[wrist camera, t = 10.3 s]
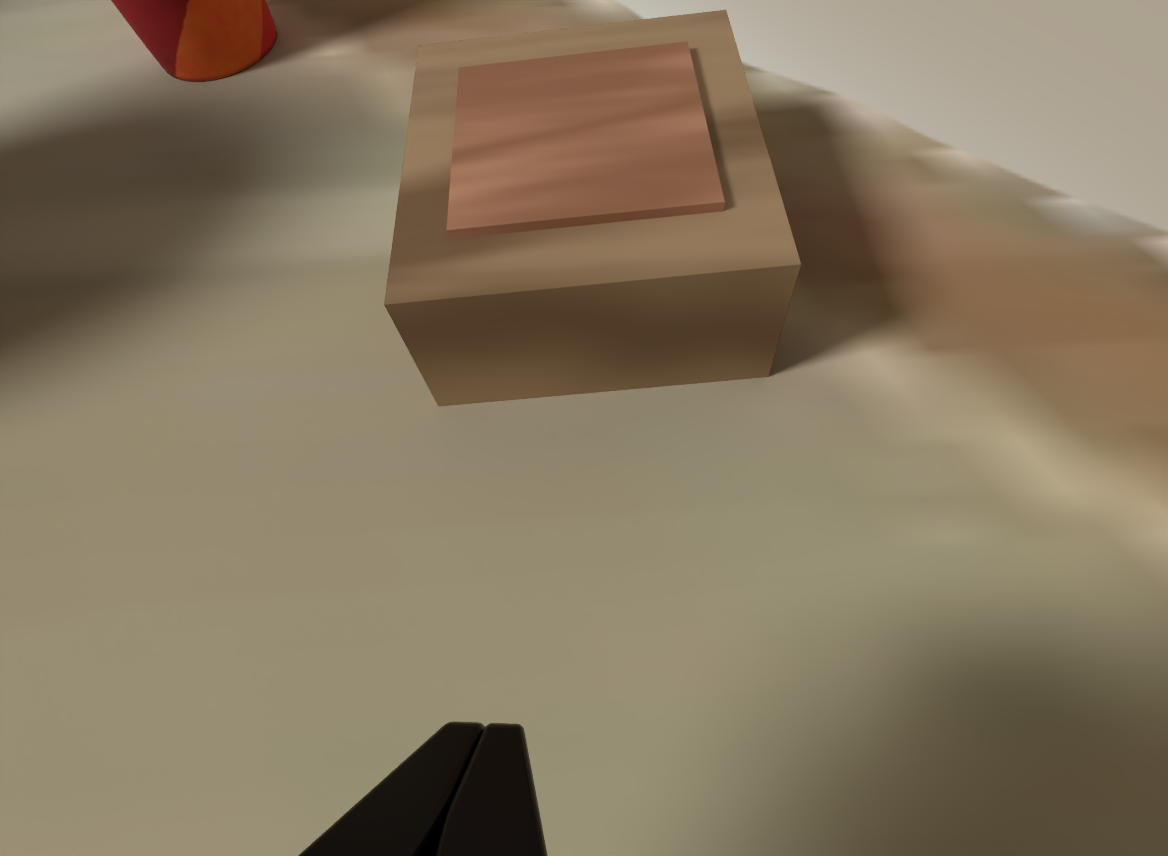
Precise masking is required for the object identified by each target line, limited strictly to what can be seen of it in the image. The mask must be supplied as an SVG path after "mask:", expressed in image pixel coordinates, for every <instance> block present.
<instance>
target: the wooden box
mask: <svg viewBox="0 0 1168 856" xmlns="http://www.w3.org/2000/svg"><path fill="white" fill-rule="evenodd" d="M800 267H801V262H800V258H799V255H798V252H797V248H796V245H795V242H794V238H793V235H792V231H791V228H790V225H789V221H788V218H787V214H786V211H785V208H784V204H783V201H782V198H781V194H780V191H779V187H778V184H777V181H776V177H775V174H774V171H773V167H772V164H771V160H770V157H769V154H768V150H767V147H766V143H765V140H764V137H763V133H762V130H761V127H760V123H759V120H758V116H757V113H756V110H755V106H754V103H753V99H752V96H751V93H750V89H749V86H748V83H747V79H746V76H745V72H744V69H743V66H742V62H741V59H740V56H739V52H738V49H737V45H736V42H735V39H734V35H733V32H732V28H731V25H730V22H729V18H728V15H727V12H726V10H720V11H712V12H703V13H695V14H686V15H678V16H669V17H660V18H652V19H643V20H634V21H625V22H617V23H608V24H600V25H591V26H582V27H574V28H565V29H556V30H548V31H539V32H531V33H522V34H513V35H505V36H496V37H487V38H479V39H470V40H461V41H453V42H444V43H436V44H427V45H419V46H418V54H417V62H416V69H415V77H414V84H413V92H412V99H411V107H410V114H409V122H408V129H407V137H406V145H405V152H404V160H403V167H402V175H401V182H400V190H399V197H398V205H397V212H396V220H395V227H394V235H393V243H392V250H391V258H390V265H389V273H388V280H387V288H386V295H385V303H384V305H385V307H386V309H387V311H388V313H389V315H390V316H391V318H392V320H393V322H394V324H395V326H396V328H397V329H398V331H399V333H400V335H401V337H402V339H403V341H404V343H405V344H406V346H407V348H408V350H409V352H410V354H411V356H412V358H413V359H414V361H415V363H416V365H417V367H418V369H419V371H420V373H421V374H422V376H423V378H424V380H425V382H426V384H427V386H428V388H429V389H430V391H431V393H432V395H433V397H434V399H435V401H436V403H437V404H438V406H449V405H460V404H471V403H482V402H493V401H504V400H515V399H527V398H538V397H549V396H560V395H571V394H582V393H594V392H605V391H616V390H627V389H638V388H649V387H661V386H672V385H683V384H694V383H705V382H716V381H728V380H739V379H750V378H761V377H769V373H770V370H771V366H772V363H773V359H774V356H775V352H776V349H777V346H778V342H779V339H780V335H781V332H782V328H783V325H784V322H785V318H786V315H787V311H788V308H789V304H790V301H791V298H792V294H793V291H794V287H795V284H796V280H797V277H798V274H799V270H800Z"/></svg>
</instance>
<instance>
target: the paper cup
mask: <svg viewBox="0 0 1168 856" xmlns="http://www.w3.org/2000/svg"><path fill="white" fill-rule="evenodd" d="M111 1H112V2H113V3H114V5H115V6H116V7H117V9H118V10H119V11H120V13H121V14H122V15H123V17H124V18H125V19H126V21H127V22H128V23H129V25H130V26H131V27H132V29H133V30H134V31H135V33H136V34H137V35H138V36H139V38H140V39H141V40H142V42H143V43H144V44H145V46H146V47H147V48H148V50H149V51H150V52H151V53H152V55H153V56H154V57H155V58H156V60H157V61H158V62H159V63H160V65H161V66H162V67H163V68H164V69H165V71H166V72H167V73H168V74H170V75H171V76H173V77H175V78H177V79H180V80H184V81H194V82H199V81H210V80H216V79H220V78H224V77H227V76H230V75H233V74H236V73H238V72H240V71H242V70H245V69H246V68H248V67H250V66H252V65H253V64H255V63H256V62H258V61H259V60H260V59H262V58H263V57H264V56H265V55H266V54H267V53H268V52H269V51H270V50H271V48H272V47H273V45H274V43H275V41H276V36H277V32H276V28H275V25H274V22H273V19H272V17H271V14H270V11H269V9H268V6H267V4H266V1H265V0H111Z"/></svg>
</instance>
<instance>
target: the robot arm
mask: <svg viewBox="0 0 1168 856" xmlns="http://www.w3.org/2000/svg"><path fill="white" fill-rule="evenodd" d="M299 856H547V851H546V845H545V840H544V835H543V829H542V824H541V818H540V813H539V808H538V802H537V797H536V791H535V786H534V781H533V775H532V770H531V765H530V759H529V754H528V748H527V743H526V738H525V732H524V729H523V727H522V726H521V725H520V724H505V723H490V724H489V725H487V726H486V727H485V726H484V725H483V724H481V723H478V722H449V723H447V724H445V725H444V726H443V727H442V728H440V729H439V730H438V731H437V732H436V733H435V734H434V735H433V736H431V737H430V738H429V739H428V740H427V741H426V742H425V743H424V744H423V745H421V746H420V747H419V748H418V749H417V750H416V751H415V752H414V753H412V754H411V755H410V756H409V757H408V758H407V759H406V760H405V761H404V762H402V763H401V764H400V765H399V766H398V767H397V768H396V769H395V770H393V771H392V772H391V773H390V774H389V775H388V776H387V777H386V778H385V779H383V780H382V781H381V782H380V783H379V784H378V785H377V786H376V787H374V788H373V789H372V790H371V791H370V792H369V793H368V794H367V795H366V796H364V797H363V798H362V799H361V800H360V801H359V802H358V803H357V804H355V805H354V806H353V807H352V808H351V809H350V810H349V811H348V812H347V813H345V814H344V815H343V816H342V817H341V818H340V819H339V820H338V821H336V822H335V823H334V824H333V825H332V826H331V827H330V828H329V829H328V830H326V831H325V832H324V833H323V834H322V835H321V836H320V837H319V838H318V839H316V840H315V841H314V842H313V843H312V844H311V845H310V846H309V847H307V848H306V849H305V850H304V851H303V852H302V853H301V854H300V855H299Z"/></svg>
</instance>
